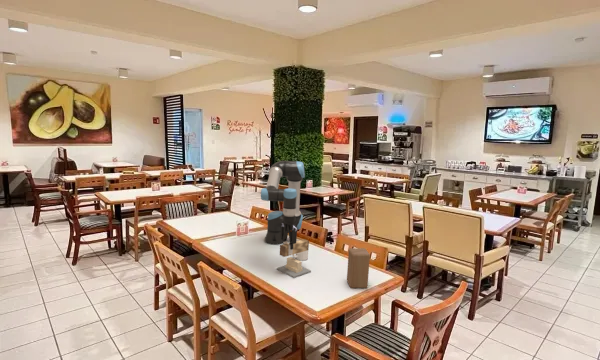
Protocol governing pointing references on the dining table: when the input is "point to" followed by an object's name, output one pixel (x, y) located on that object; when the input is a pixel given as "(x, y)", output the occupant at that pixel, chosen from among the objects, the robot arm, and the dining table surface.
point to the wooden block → (358, 268)
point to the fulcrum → (293, 268)
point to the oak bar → (294, 247)
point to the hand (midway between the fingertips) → (287, 253)
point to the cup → (301, 256)
